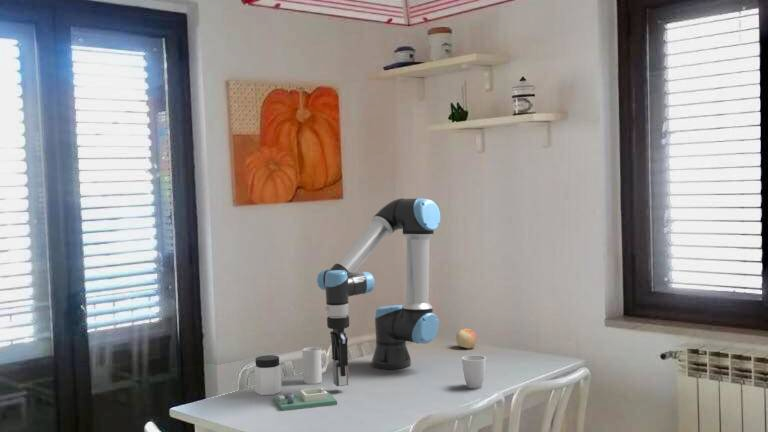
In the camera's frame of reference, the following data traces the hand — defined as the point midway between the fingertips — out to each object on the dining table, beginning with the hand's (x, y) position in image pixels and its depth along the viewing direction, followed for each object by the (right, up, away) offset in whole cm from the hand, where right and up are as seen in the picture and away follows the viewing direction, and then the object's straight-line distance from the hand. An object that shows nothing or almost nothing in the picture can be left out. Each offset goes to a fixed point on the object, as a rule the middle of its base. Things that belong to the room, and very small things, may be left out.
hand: (341, 383), depth 280 cm
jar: (-25, -4, +1) cm, 25 cm away
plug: (0, 0, 0) cm, 0 cm away
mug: (-10, -3, +15) cm, 18 cm away
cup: (+46, -2, +2) cm, 46 cm away
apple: (+50, +1, +65) cm, 81 cm away
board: (-11, -4, -12) cm, 17 cm away
